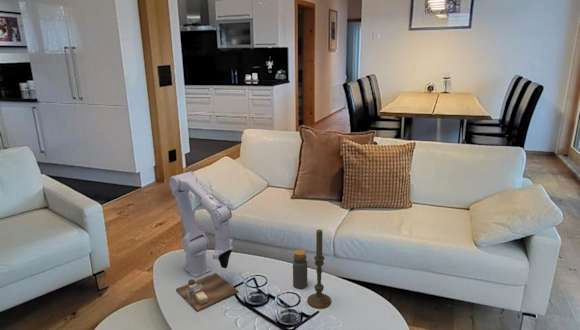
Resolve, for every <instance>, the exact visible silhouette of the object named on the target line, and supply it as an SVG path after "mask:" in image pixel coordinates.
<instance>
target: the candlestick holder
mask: <svg viewBox="0 0 580 330" xmlns="http://www.w3.org/2000/svg"><path fill="white" fill-rule="evenodd" d="M315 232H316V234H315V235H316V236H315V237H316V245H315V246H316V247H315V248H316V251H315V252H316V255H315V256H314V257H313V260H314V265H315V266H316V284H315V285H314V290H315V293H312V294H310V295H308V297H307V300H306V303H307V304H308V306H310V307H312V308H313V309H319V310H320V309H326V308H329V306H330V305H331V304H332V300H331V297H330V296H329V295H327V294H326V293H323V291H324V284H322V274H323V268H322V266H324V264H325V262H324V261H325V256H324V255H323V229H317V230H316V231H315Z"/></svg>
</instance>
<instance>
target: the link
mask: <svg viewBox="0 0 580 330" xmlns="http://www.w3.org/2000/svg"><path fill="white" fill-rule="evenodd" d="M187 281H188V282H187V284H188V288H190V287H193V286H196V285H197V284H196V282H195V281H196V280H195V279H193V278H192V279H189V280H187ZM194 293H195V298H196V300H197V301H198V302H199V304H200V305H202V304H205V303H208V297H207V296H206V295H205V294H204V292H203V291H202V290H200V291H197V292H194Z"/></svg>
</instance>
